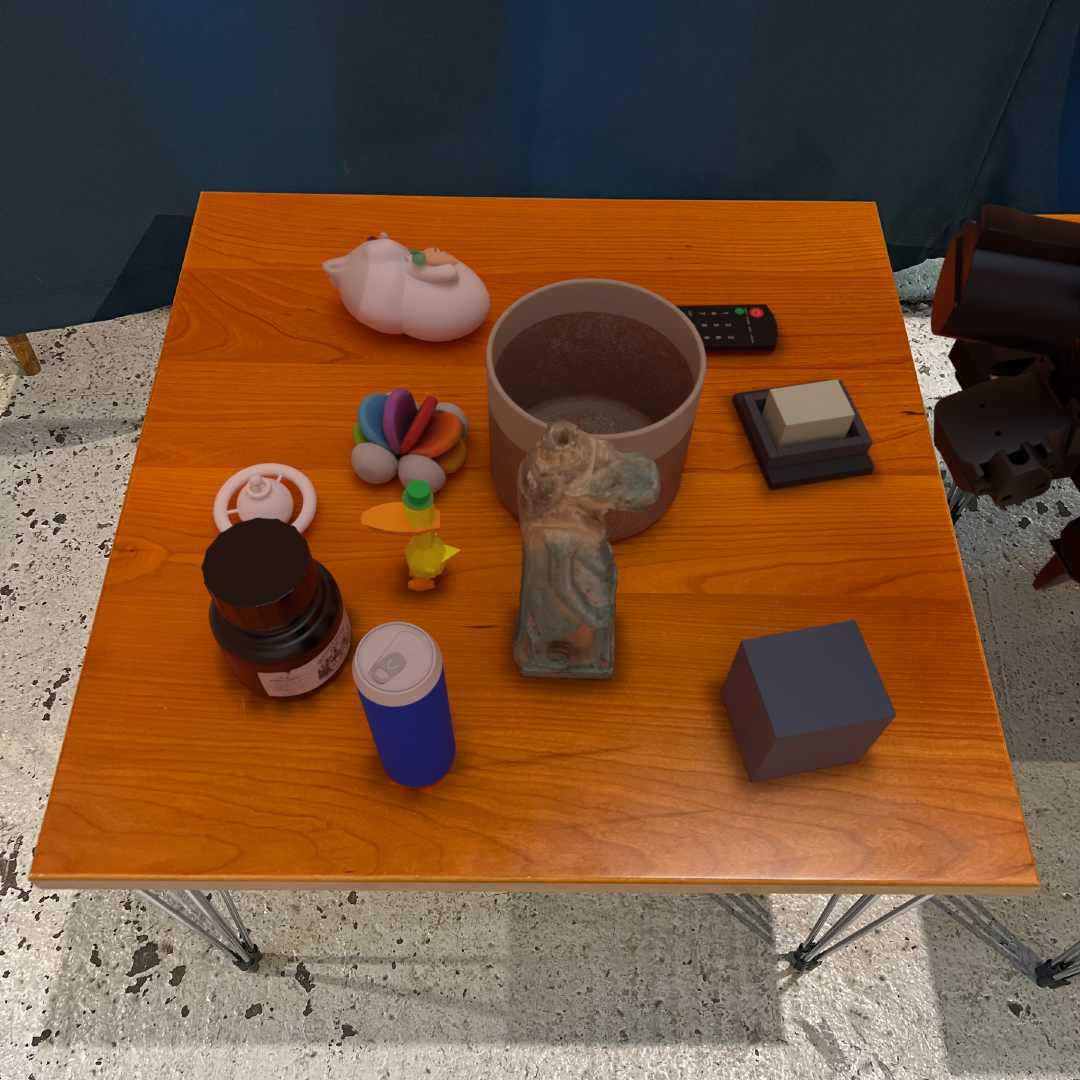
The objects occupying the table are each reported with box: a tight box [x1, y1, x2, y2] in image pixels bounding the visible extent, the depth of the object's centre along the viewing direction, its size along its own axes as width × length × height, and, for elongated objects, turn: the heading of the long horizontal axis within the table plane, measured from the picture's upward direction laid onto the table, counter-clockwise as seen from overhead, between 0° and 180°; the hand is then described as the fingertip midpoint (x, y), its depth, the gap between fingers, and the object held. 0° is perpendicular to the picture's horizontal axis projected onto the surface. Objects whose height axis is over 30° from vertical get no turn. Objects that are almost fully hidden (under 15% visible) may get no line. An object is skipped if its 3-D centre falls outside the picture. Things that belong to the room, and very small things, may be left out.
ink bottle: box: [201, 517, 353, 701], centre depth 67 cm, size 10×9×12 cm
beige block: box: [762, 379, 855, 449], centre depth 81 cm, size 6×4×4 cm, turn 102°
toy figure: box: [360, 479, 461, 592], centre depth 70 cm, size 7×4×12 cm, turn 91°
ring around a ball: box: [212, 462, 318, 535], centre depth 76 cm, size 8×6×8 cm
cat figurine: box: [321, 231, 491, 343], centre depth 87 cm, size 10×8×15 cm
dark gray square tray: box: [732, 379, 875, 491], centre depth 83 cm, size 9×10×2 cm
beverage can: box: [351, 621, 456, 788], centre depth 61 cm, size 5×5×15 cm
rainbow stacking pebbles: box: [350, 387, 470, 494], centre depth 79 cm, size 8×10×7 cm
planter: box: [485, 277, 707, 543], centre depth 75 cm, size 16×16×14 cm
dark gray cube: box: [720, 619, 897, 783], centre depth 66 cm, size 8×7×8 cm
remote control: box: [675, 303, 779, 353], centre depth 89 cm, size 5×24×1 cm, turn 92°
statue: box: [512, 420, 661, 680], centre depth 62 cm, size 7×8×25 cm
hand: (1007, 527), depth 63 cm, fingers open, 9 cm apart
